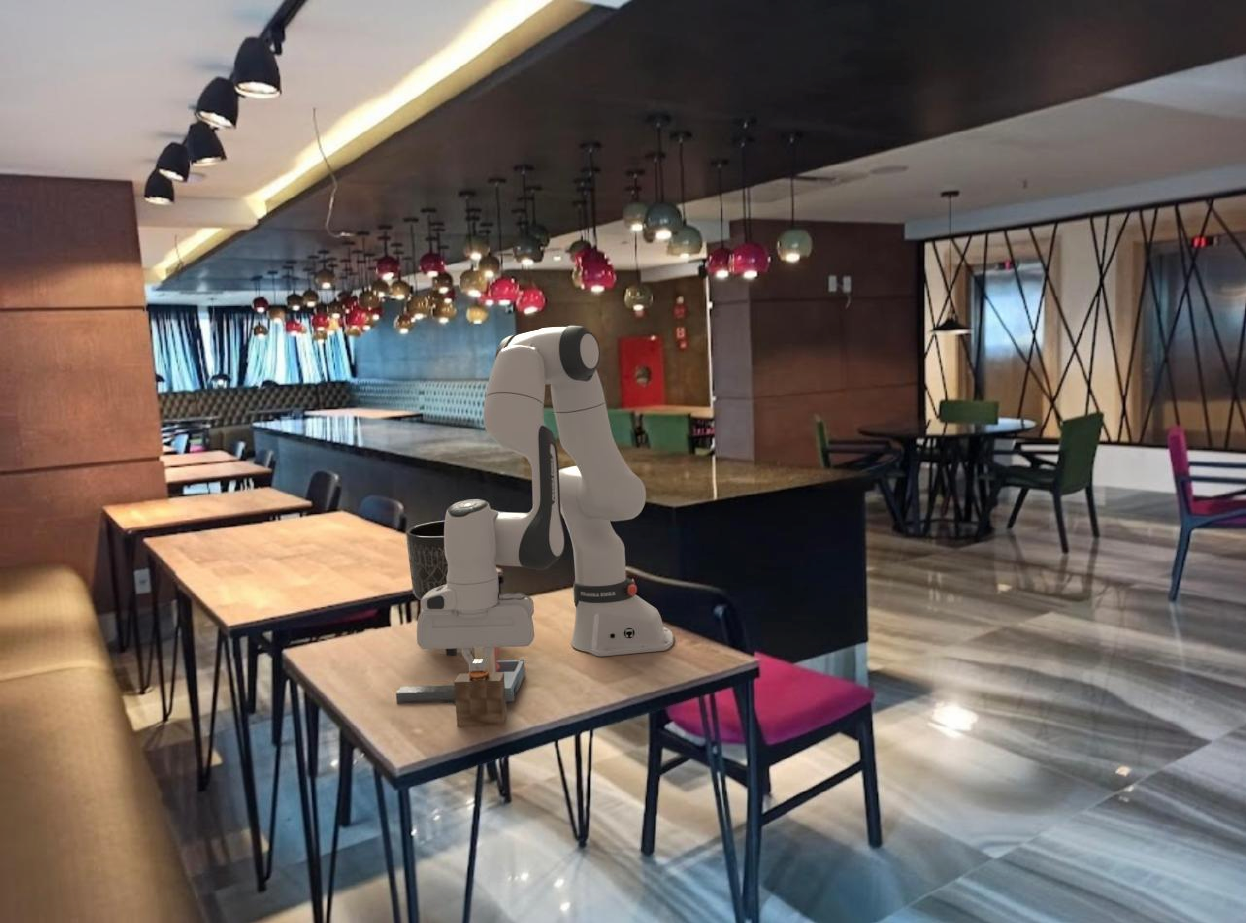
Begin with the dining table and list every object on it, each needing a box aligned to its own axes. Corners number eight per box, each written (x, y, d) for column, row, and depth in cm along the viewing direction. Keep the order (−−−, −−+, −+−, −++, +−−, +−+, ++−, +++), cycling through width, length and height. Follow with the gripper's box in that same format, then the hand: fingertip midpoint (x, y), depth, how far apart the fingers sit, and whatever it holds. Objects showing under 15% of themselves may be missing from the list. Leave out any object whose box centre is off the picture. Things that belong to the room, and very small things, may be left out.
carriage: (524, 674, 181) (521, 619, 179) (511, 705, 165) (508, 646, 163) (477, 675, 181) (473, 621, 180) (460, 706, 165) (455, 647, 164)
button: (493, 703, 160) (490, 666, 160) (489, 711, 157) (487, 674, 156) (473, 703, 161) (470, 667, 160) (469, 712, 157) (466, 674, 156)
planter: (495, 655, 193) (487, 535, 190) (404, 659, 193) (395, 538, 190) (508, 627, 212) (501, 517, 209) (425, 630, 213) (417, 520, 209)
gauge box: (506, 715, 161) (503, 672, 160) (502, 724, 157) (499, 680, 156) (462, 716, 161) (459, 673, 160) (457, 725, 157) (454, 682, 156)
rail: (515, 694, 171) (514, 683, 170) (512, 700, 168) (512, 689, 168) (401, 697, 172) (400, 686, 172) (396, 703, 169) (395, 693, 169)
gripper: (535, 587, 159) (539, 663, 160) (421, 591, 160) (426, 666, 161) (530, 597, 152) (534, 675, 154) (411, 601, 153) (417, 678, 155)
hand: (478, 670), depth 158 cm, fingers closed, pressing on button
